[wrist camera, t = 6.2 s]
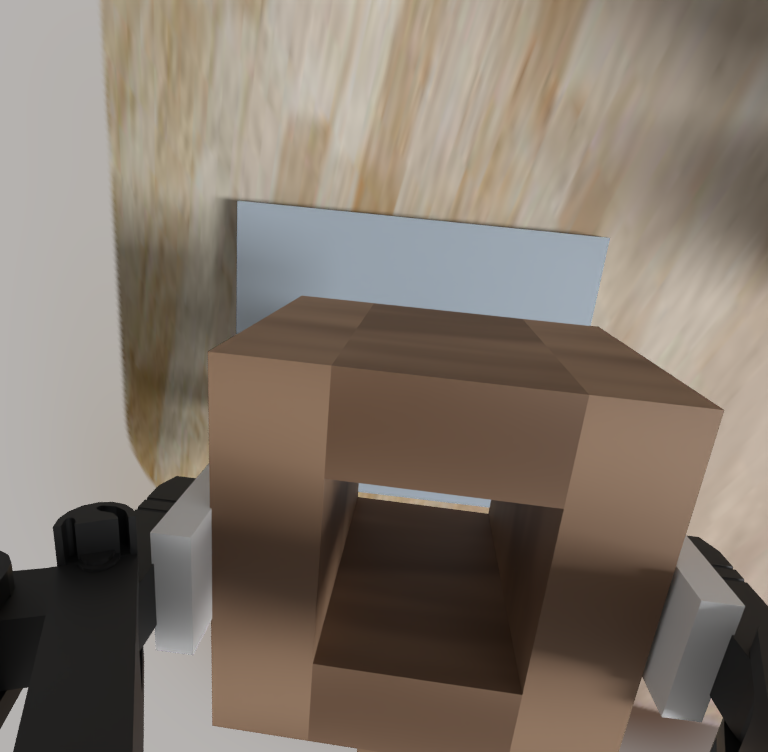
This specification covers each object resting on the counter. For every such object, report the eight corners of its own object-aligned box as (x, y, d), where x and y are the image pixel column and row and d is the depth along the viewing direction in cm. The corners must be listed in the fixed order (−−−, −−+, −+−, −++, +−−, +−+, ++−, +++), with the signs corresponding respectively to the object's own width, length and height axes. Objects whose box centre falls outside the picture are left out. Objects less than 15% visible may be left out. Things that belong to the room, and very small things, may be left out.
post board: (244, 201, 28) (163, 195, 19) (601, 236, 27) (688, 248, 18) (241, 467, 33) (175, 560, 24) (544, 503, 32) (591, 613, 23)
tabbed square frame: (301, 295, 16) (208, 351, 9) (598, 327, 15) (724, 410, 9) (287, 632, 20) (213, 843, 13) (523, 667, 19) (571, 903, 13)
